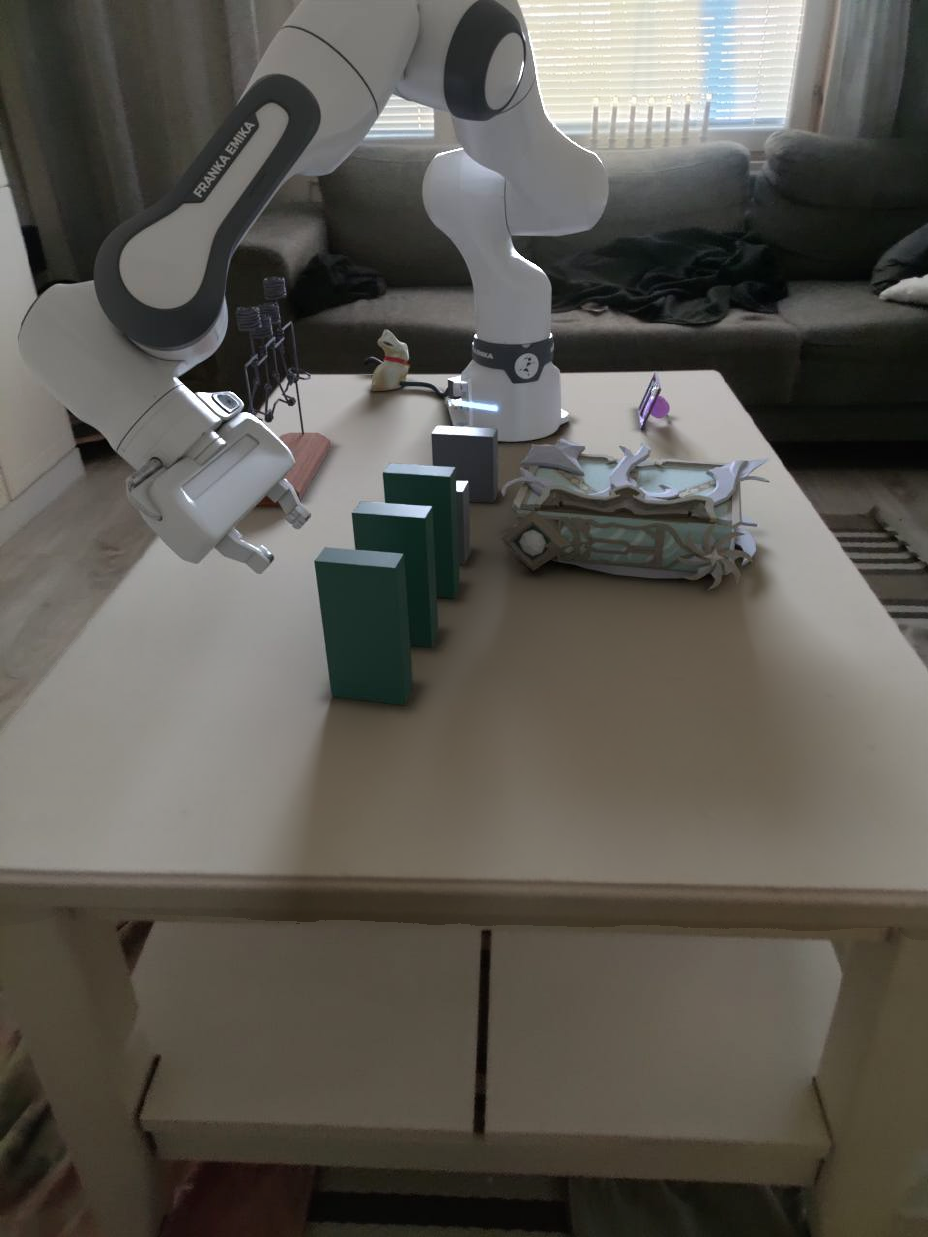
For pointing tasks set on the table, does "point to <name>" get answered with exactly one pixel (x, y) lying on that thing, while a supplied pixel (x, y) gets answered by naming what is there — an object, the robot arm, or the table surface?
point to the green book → (405, 557)
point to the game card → (653, 402)
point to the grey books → (468, 470)
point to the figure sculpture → (302, 445)
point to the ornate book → (631, 513)
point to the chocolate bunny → (391, 364)
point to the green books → (384, 593)
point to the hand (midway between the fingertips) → (287, 543)
